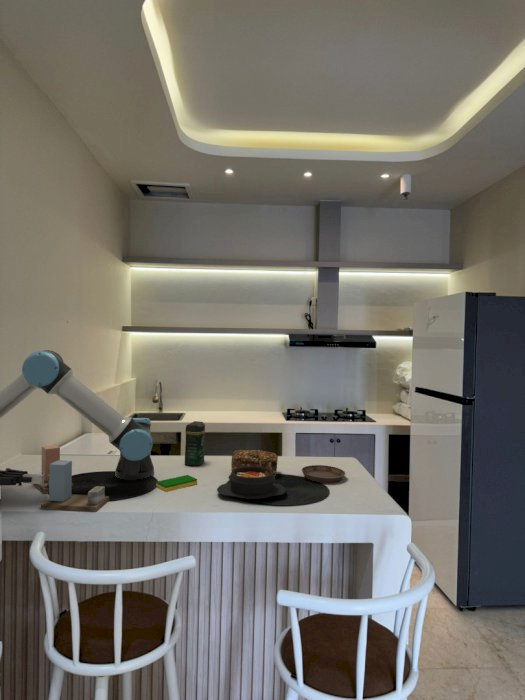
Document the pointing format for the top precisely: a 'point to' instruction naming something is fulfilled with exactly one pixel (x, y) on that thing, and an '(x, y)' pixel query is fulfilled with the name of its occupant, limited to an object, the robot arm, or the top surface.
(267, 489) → the casserole
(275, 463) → the bread
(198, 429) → the coffee jar
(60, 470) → the slate blue block
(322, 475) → the plant saucer
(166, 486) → the dish sponge
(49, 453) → the terracotta tall block
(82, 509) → the wooden board with block
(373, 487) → the top surface
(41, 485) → the brown piece
